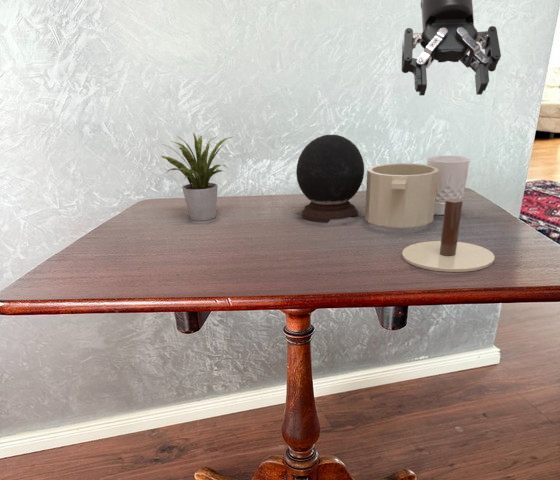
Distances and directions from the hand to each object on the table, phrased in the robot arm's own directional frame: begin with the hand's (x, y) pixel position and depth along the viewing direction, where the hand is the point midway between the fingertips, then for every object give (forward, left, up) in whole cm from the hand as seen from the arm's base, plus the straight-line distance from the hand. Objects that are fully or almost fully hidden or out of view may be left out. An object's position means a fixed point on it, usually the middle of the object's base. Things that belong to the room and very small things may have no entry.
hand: (452, 91), depth 81 cm
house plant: (+46, -11, -23) cm, 53 cm away
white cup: (-1, -21, -23) cm, 31 cm away
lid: (-2, +10, -22) cm, 24 cm away
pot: (+7, -12, -23) cm, 27 cm away
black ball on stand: (+21, -15, -23) cm, 34 cm away
